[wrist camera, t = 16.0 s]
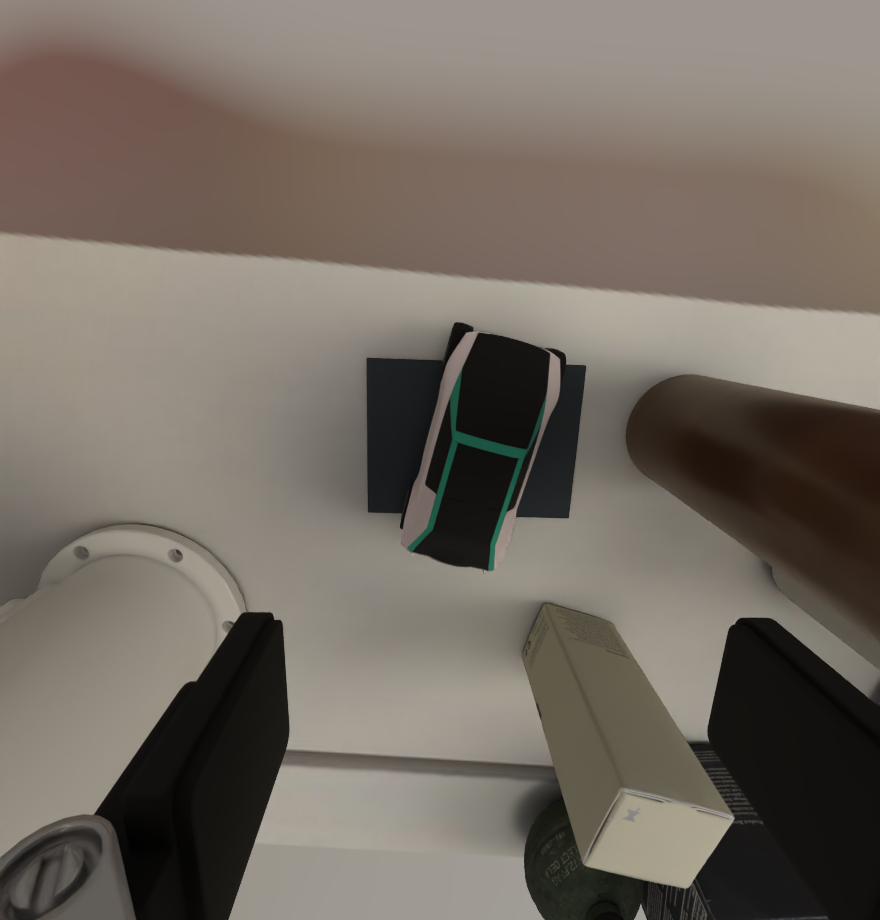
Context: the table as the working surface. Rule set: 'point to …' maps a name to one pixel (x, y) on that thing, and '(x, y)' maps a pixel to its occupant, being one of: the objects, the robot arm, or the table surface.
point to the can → (829, 619)
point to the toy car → (480, 447)
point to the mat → (407, 427)
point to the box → (620, 755)
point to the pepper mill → (774, 480)
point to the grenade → (573, 875)
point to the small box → (735, 870)
